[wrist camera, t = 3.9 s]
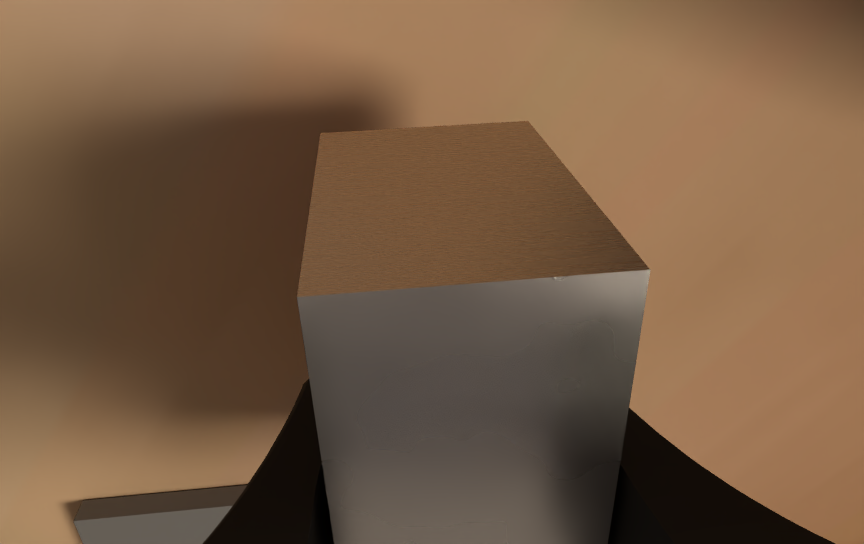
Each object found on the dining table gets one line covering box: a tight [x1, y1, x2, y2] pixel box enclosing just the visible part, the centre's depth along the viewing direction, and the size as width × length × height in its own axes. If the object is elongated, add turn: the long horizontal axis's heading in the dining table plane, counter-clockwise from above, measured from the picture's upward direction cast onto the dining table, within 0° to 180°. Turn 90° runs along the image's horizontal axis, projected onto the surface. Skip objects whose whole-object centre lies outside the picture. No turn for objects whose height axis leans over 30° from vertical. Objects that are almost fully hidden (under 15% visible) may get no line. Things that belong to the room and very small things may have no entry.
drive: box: [297, 121, 650, 544], centre depth 12 cm, size 4×10×6 cm, turn 2°
